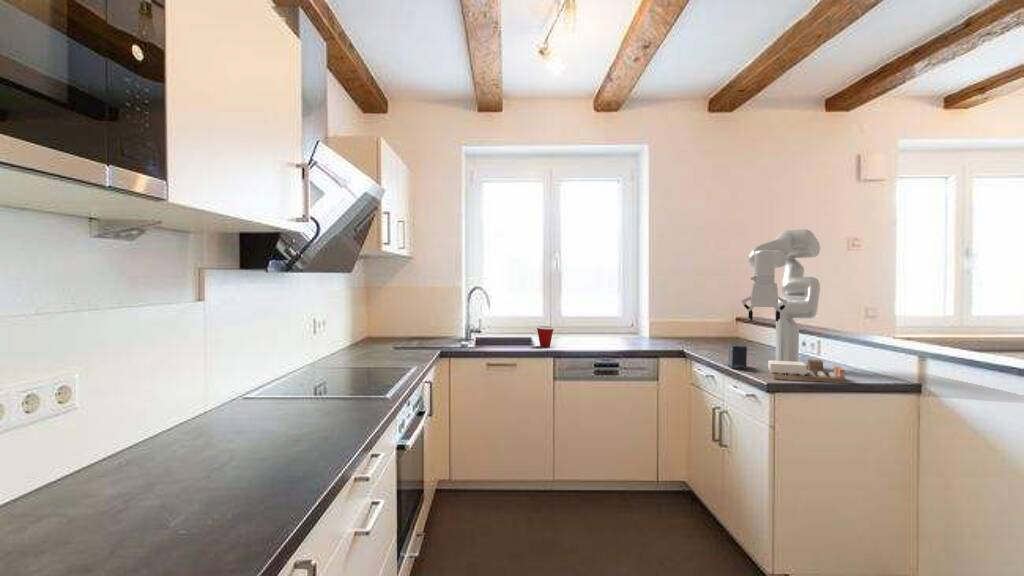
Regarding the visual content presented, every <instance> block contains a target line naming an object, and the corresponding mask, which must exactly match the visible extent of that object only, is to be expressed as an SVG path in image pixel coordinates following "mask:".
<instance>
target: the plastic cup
mask: <svg viewBox="0 0 1024 576" xmlns="http://www.w3.org/2000/svg"><path fill="white" fill-rule="evenodd" d="M535 327H536V329H537V335H538V341H539V346H540V348H550V347H551V344H552V343H551V342H552V339H553V333H554V330H555V326H552V325H542V324H541V325H536V326H535Z"/></svg>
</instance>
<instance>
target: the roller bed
mask: <svg viewBox="0 0 1024 576" xmlns="http://www.w3.org/2000/svg"><path fill="white" fill-rule="evenodd" d="M770 373H771V374H770ZM845 373H846V371H845V369H844V368H842V367H841V366H840V365H835V364H834V365H833V371H828V372H826V371H823V372H822V371H819V372H814V371H806V374H794V373H777V372H770V371H769V374H770V375H771V377H772V379H773V378H774V379H773V380H782V379H788V380H787V381H798V380H805V381H804V382H814V381H823V382H822V383H831V382H834V383H835V384H846V378H845V376H846V375H845ZM784 374H786V375H784ZM805 375H807V376H805Z"/></svg>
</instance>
